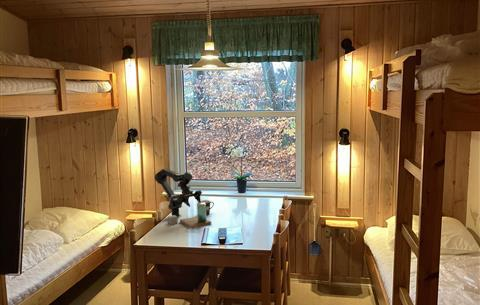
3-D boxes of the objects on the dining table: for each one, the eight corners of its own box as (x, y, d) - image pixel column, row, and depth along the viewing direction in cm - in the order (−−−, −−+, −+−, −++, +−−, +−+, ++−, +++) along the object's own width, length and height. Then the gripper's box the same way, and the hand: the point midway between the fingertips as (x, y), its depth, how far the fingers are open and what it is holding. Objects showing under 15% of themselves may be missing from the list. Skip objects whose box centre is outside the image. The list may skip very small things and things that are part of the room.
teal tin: (196, 222, 313) (195, 204, 311) (200, 219, 319) (199, 202, 317) (204, 223, 311) (203, 204, 309) (208, 220, 317) (207, 202, 315)
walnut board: (180, 222, 322) (180, 219, 322) (200, 218, 330) (200, 215, 329) (189, 228, 306) (189, 225, 306) (211, 224, 314) (211, 221, 314)
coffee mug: (200, 216, 336) (199, 203, 334) (198, 213, 344) (198, 200, 343) (215, 215, 338) (215, 202, 336) (214, 212, 346) (213, 199, 345)
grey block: (168, 222, 321) (168, 216, 321) (175, 221, 324) (174, 215, 323) (170, 224, 317) (170, 217, 316) (177, 223, 319) (177, 216, 319)
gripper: (191, 192, 336) (200, 209, 330) (170, 197, 324) (180, 214, 317) (197, 183, 329) (207, 200, 323) (176, 187, 317) (186, 205, 310)
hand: (195, 205), depth 318 cm, fingers open, 9 cm apart
